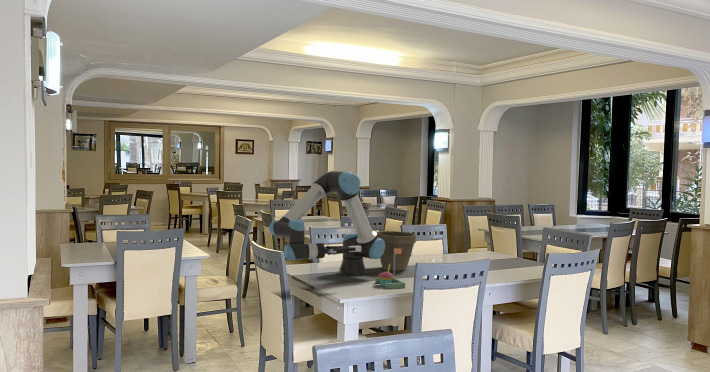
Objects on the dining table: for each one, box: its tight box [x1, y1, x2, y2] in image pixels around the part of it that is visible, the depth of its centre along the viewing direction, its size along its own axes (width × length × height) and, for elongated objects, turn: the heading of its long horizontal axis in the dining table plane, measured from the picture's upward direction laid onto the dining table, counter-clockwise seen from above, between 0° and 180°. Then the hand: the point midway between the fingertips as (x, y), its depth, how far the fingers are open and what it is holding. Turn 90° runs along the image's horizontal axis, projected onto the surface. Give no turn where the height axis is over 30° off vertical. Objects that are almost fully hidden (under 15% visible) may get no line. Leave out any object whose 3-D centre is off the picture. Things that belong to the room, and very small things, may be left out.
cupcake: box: [377, 264, 394, 287], centre depth 290 cm, size 9×8×12 cm
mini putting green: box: [374, 248, 406, 290], centre depth 292 cm, size 15×16×18 cm
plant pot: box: [375, 230, 417, 272], centre depth 339 cm, size 25×25×22 cm
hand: (360, 248), depth 285 cm, fingers closed
